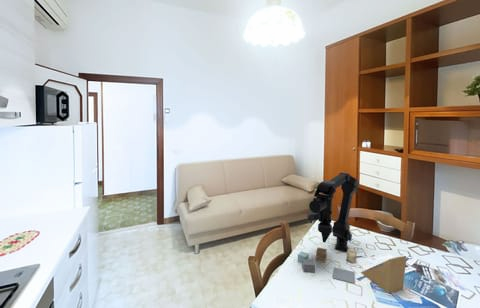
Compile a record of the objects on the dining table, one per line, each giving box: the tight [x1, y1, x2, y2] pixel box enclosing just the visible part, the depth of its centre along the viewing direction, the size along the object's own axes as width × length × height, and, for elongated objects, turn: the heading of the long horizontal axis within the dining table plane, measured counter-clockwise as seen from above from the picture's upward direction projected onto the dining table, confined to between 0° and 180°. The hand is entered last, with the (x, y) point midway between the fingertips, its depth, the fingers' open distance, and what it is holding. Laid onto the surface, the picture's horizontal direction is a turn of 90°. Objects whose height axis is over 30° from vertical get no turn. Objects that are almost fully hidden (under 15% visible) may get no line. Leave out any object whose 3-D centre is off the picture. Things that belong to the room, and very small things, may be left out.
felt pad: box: [332, 267, 356, 285], centre depth 113 cm, size 9×9×1 cm
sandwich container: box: [360, 255, 407, 294], centre depth 110 cm, size 9×15×15 cm, turn 17°
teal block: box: [297, 250, 310, 264], centre depth 125 cm, size 4×4×4 cm
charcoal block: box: [301, 258, 316, 274], centre depth 118 cm, size 5×5×4 cm
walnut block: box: [315, 246, 328, 263], centre depth 127 cm, size 4×4×5 cm
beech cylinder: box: [346, 248, 357, 264], centre depth 126 cm, size 4×4×5 cm
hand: (324, 238), depth 124 cm, fingers open, 9 cm apart
